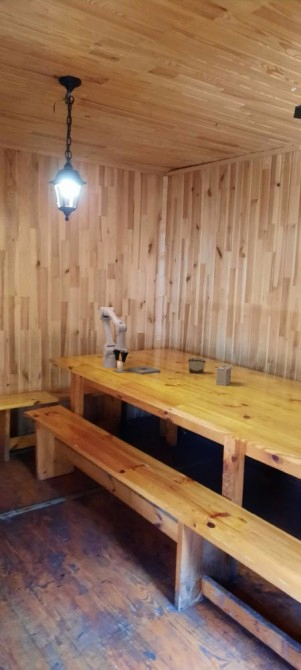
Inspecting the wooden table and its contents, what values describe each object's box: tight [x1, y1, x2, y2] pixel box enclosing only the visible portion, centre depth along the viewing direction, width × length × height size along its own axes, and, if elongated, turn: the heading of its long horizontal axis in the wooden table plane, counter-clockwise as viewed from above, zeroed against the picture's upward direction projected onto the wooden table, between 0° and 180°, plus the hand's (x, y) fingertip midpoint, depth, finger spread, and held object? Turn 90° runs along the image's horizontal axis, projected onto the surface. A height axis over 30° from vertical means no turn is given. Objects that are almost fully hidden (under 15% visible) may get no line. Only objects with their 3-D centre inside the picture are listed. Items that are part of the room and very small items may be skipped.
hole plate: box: [127, 365, 161, 376], centre depth 334 cm, size 16×16×3 cm
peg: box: [116, 360, 124, 372], centre depth 330 cm, size 4×4×7 cm
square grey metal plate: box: [112, 369, 128, 374], centre depth 331 cm, size 8×8×1 cm
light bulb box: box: [215, 365, 233, 387], centre depth 309 cm, size 11×7×11 cm, turn 154°
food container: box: [187, 357, 207, 375], centre depth 339 cm, size 12×6×10 cm, turn 84°
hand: (120, 361), depth 330 cm, fingers open, 7 cm apart
